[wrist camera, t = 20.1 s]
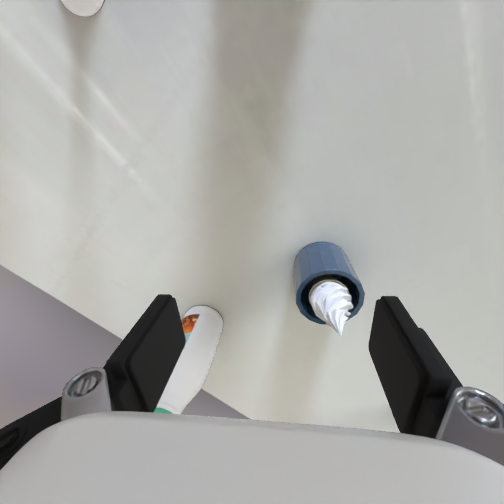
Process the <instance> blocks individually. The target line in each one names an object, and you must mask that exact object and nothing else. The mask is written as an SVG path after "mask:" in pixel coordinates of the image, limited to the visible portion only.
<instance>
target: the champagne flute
mask: <svg viewBox="0 0 504 504" xmlns="http://www.w3.org/2000/svg"><path fill="white" fill-rule="evenodd" d="M61 2H62V3H63V4H64V5H65V7H66V8H67V9H68V10H70V11H71V12H73V13H74V14H76V15H79V16H83V17H85V16H91V15H93V14H95V13H96V12H97V11H98V10H99V9H100V8H101V6H102V4H103V2H104V0H61Z"/></svg>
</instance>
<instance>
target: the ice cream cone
mask: <svg viewBox="0 0 504 504" xmlns="http://www.w3.org/2000/svg"><path fill="white" fill-rule="evenodd" d="M309 301H310V304H311V305H312V308H313V310H314V312H315V314H316V316H317V317H319V318H320V319H322V320H323V321H325V322H326V324H327V325H328V326H330V327H332V328H333V329H334V330H335V331H336V332H337V333H338V334H339V335H340V336H342V331H343V328H344V325H345V324H344V323H345V321H346V320H347V319H348V317H347V316H349V315H351V313H350V312H348V310H350V309H352V308H353V305H352V303H351V295H349V291H348V289H347V287H346V286H345V285H344V284H342V283H341V282H339V281H338V280H337V279H336V278H334V277H333V276H332V275H331V274H324V275H321V276H318V277H316V278H315V281H314V283H313V286H312V289H311V290H310V293H309Z"/></svg>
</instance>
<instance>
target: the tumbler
mask: <svg viewBox="0 0 504 504" xmlns="http://www.w3.org/2000/svg"><path fill="white" fill-rule="evenodd" d="M324 274H331V275H332V276H333V277H334V278H336V279H337V280H338V281H339V282H341V283H342V284H344V285H345V286H346V287H347V289H348V291H349V295H351V303H352V305H353V308H352V309H350V310H348V312H350V313H351V315H349V316H347V317H348V319H347V320H349V319H350V318H352V317H353V316H355V315H356V314H357V313H358V311H359V310H360V308H361V307H362V306H363V301H364V295H365V294H364V290H363V288H362V285H361V282H360V281H359V279H358V277H357V275H356V273H355V271H354V269H353V267H352V265H351V263H350V261H349V259H348V257H347V255H346V254H345V253H344V251H343V250H342V249H341V248H340V247H338V246H337V245H335V244H332V243H328V242H316V243H312V244H310V245H308V246H306V247H304V248H303V249H302V250H301V251H300V252H299V253H298V255H297V256H296V258H295V262H294V280H295V295H296V304H297V306H298V308H299V310H300V312H301V313H302V314H303V315H304V316H305V317H306V318H308V319H309V320H311V321H313V322H316V323H319V324H326V322H325V321H323V320H322V319H320V318H319V317H317V316H316V314H315V312H314V310H313V308H312V305H311V304H310V301H309V293H310V290H311V289H312V286H313V283H314V281H315V278H316V277H318V276H321V275H324ZM347 320H346V321H347Z"/></svg>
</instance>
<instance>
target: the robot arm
mask: <svg viewBox="0 0 504 504" xmlns="http://www.w3.org/2000/svg"><path fill="white" fill-rule="evenodd" d="M185 342H186V338H185V334H184V330H183V326H182V323H181V319H180V315H179V311H178V307H177V303H176V300H175V298H172V296H171V295H158V296H157V297H156V298H155V299H154V301H153V302H152V303H151V304H150V306H149V307H148V308H147V310H146V311H145V312H144V314H143V315H142V316H141V317H140V319H139V320H138V321H137V323H136V324H135V325H134V327H133V328H132V329H131V331H130V332H129V333H128V334H127V336H126V337H125V338H124V340H123V341H122V342H121V344H120V345H119V346H118V348H117V349H116V350H115V351H114V353H113V354H112V355H111V357H110V358H109V359H108V360H107V362H106V365H105V366H104V367H103V368H101V367H92V368H88V369H86V370H83V371H82V372H80V373H78V374H77V375H75V376H74V377H73V378H72V379H71V380H70V381H69V382H68V383H67V384H66V386H65V387H64V389H63V393H62V396H61V397H59V398H57V399H56V400H54V401H52V402H50V403H48V404H46V405H44V406H42V407H41V408H39V409H37V410H35V411H33V412H31V413H29V414H27V415H25V416H24V417H22V418H20V419H18V420H16V421H14V422H12V423H11V424H9V425H7V426H5V427H4V428H2V429H0V504H504V404H503V403H501V402H500V401H499V400H498V399H496V398H495V397H493V396H492V395H490V394H488V393H487V392H484V391H482V390H479V389H477V388H472V387H463V386H462V384H461V383H460V381H459V380H458V378H457V377H456V376H455V374H454V373H453V371H452V370H451V368H450V367H449V365H448V364H447V363H446V361H445V360H444V358H443V357H442V355H441V354H440V352H439V351H438V350H437V348H436V347H435V345H434V344H433V342H432V341H431V339H430V338H429V336H428V335H427V334H426V332H425V331H424V330H423V329H422V328H418V327H417V325H416V324H415V322H414V321H413V319H412V318H411V316H410V315H409V313H408V312H407V310H406V309H405V307H404V306H403V304H402V303H401V301H400V300H399V298H398V297H396V296H382V297H381V299H380V300H379V299H378V300H377V301H376V305H375V311H374V317H373V322H372V328H371V334H370V340H369V352H370V355H371V358H372V360H373V363H374V365H375V368H376V371H377V373H378V376H379V379H380V381H381V384H382V387H383V389H384V392H385V395H386V397H387V400H388V402H389V405H390V408H391V410H392V413H393V416H394V418H395V421H396V424H397V426H398V429H399V431H400V432H401V433H395V432H385V431H375V430H365V429H356V428H344V427H332V426H320V425H309V424H297V423H285V422H272V421H260V420H247V419H234V418H222V417H208V416H195V415H194V416H193V415H181V414H168V413H153V412H154V411H155V409H156V407H157V404H158V402H159V400H160V398H161V396H162V394H163V391H164V389H165V387H166V385H167V383H168V381H169V378H170V376H171V374H172V372H173V370H174V368H175V366H176V363H177V361H178V359H179V357H180V355H181V353H182V350H183V348H184V346H185ZM403 433H405V434H403Z"/></svg>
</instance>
